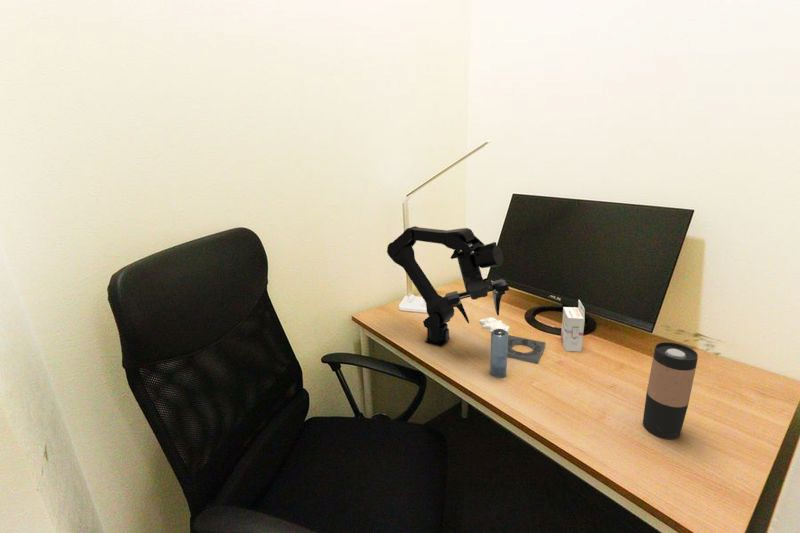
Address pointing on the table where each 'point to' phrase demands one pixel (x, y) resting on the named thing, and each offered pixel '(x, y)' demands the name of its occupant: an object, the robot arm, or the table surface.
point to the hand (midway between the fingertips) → (483, 319)
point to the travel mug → (669, 389)
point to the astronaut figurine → (493, 324)
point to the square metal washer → (535, 345)
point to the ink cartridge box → (573, 327)
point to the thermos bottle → (499, 353)
